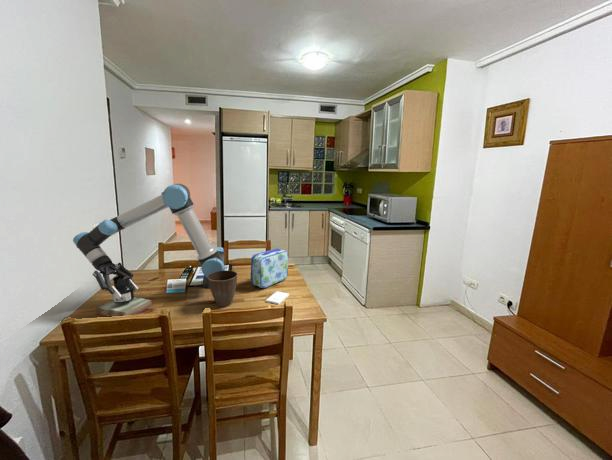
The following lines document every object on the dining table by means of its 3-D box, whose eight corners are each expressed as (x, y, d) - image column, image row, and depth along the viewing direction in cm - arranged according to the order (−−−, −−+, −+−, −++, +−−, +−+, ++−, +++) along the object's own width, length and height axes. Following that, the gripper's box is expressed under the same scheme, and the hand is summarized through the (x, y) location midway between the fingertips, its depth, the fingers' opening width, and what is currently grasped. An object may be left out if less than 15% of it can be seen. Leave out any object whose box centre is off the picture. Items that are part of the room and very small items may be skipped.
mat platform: (151, 305, 147) (151, 299, 147) (126, 320, 133) (125, 313, 133) (124, 300, 152) (123, 294, 152) (97, 314, 138) (96, 307, 138)
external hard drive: (289, 296, 162) (278, 305, 151) (276, 293, 165) (265, 302, 154) (289, 293, 161) (278, 302, 150) (276, 290, 165) (265, 299, 153)
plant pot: (207, 311, 142) (205, 281, 139) (210, 298, 156) (209, 271, 153) (238, 309, 145) (237, 279, 142) (238, 296, 159) (237, 269, 156)
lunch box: (278, 274, 193) (278, 244, 189) (290, 278, 187) (290, 247, 182) (249, 286, 173) (247, 253, 168) (261, 291, 166) (260, 257, 162)
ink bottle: (108, 304, 137) (105, 281, 135) (118, 296, 146) (115, 274, 143) (130, 304, 138) (127, 280, 136) (138, 296, 147) (136, 274, 144)
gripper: (115, 257, 153) (142, 289, 151) (73, 271, 132) (104, 307, 131) (122, 249, 150) (149, 281, 149) (80, 261, 130) (111, 298, 129)
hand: (128, 293), depth 140 cm, fingers closed on ink bottle, 9 cm apart
